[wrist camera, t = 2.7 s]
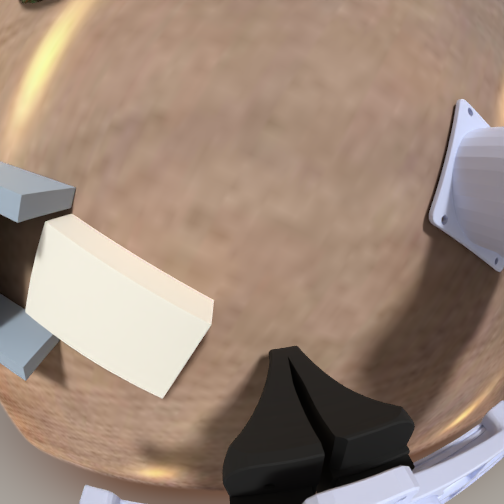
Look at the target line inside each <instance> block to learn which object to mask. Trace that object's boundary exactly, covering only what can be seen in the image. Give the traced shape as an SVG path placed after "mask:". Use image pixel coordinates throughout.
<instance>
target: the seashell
mask: <svg viewBox="0 0 504 504" xmlns="http://www.w3.org/2000/svg"><path fill="white" fill-rule="evenodd" d="M39 1H42V0H22V3H27V2H30V3H35V2H39Z"/></svg>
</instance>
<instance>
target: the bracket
mask: <svg viewBox="0 0 504 504" xmlns="http://www.w3.org/2000/svg"><path fill="white" fill-rule="evenodd" d="M75 188H76V187H73V186H70V185H67V184H64V183H61V182H58V181H55V180H52V179H50V178H47V177H44V176H41V175H38V174H35V173H32V172H29V171H26V170H23V169H20V168H17V167H14V166H12V165H9V164H6V163H3V162H0V214H1V215H3V216H5V217H7V218H9V219H11V220H13V221H15V222H17V223H19V222H22V221H25V220H29V219H32V218H35V217H39V216H43V215H46V214H50V213H54V212H58V211H61V210H65V209H69V208H71V206H72V201H73V197H74V193H75ZM58 342H59V338H57V337H56V336H55V335H53V334H52V333H51V332H49V331H48V330H47V329H45V328H44V327H43V326H42V325H40V324H39V323H38V322H36V321H35V320H34V319H33V318H32V317H30V316H29V315H28V314H27V313H26V312H25V309H24V308H22V307H21V306H19V305H17V304H16V303H14V302H13V301H11V300H10V299H8V298H7V297H5V296H4V295H2V294H1V293H0V363H1V364H2V365H4V366H5V367H6V368H8V369H9V370H11V371H12V372H13V373H15V374H16V375H18V376H19V377H21V378H22V379H24V380H25V381H26V380H27V379H28V378H29V376H30V375H31V374H32V373H33V371H34V370H35V369H36V368H37V367H38V365H39V364H40V363H41V362H42V361H43V359H44V358H45V357H46V356H47V355H48V353H49V352H50V351H51V350H52V349H53V348H54V346H55V345H56V344H57V343H58Z"/></svg>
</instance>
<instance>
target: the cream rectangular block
mask: <svg viewBox="0 0 504 504" xmlns="http://www.w3.org/2000/svg"><path fill="white" fill-rule="evenodd" d="M213 305H214V300H213V299H211V298H209V297H207V296H205V295H203V294H202V293H200V292H198V291H196V290H194V289H193V288H191V287H189V286H187V285H186V284H184V283H182V282H180V281H178V280H177V279H175V278H173V277H172V276H170V275H168V274H166V273H165V272H163V271H161V270H160V269H158V268H156V267H155V266H153V265H151V264H149V263H148V262H146V261H145V260H143V259H141V258H140V257H138V256H136V255H135V254H133V253H131V252H130V251H128V250H127V249H125V248H123V247H122V246H120V245H119V244H117V243H116V242H114V241H112V240H111V239H109V238H108V237H106V236H105V235H103V234H102V233H100V232H98V231H97V230H95V229H94V228H92V227H91V226H89V225H88V224H86V223H85V222H83V221H82V220H80V219H79V218H78V217H76V216H75V215H73V214H68V215H65V216H61V217H58V218H55V219H51V220H48V221H45V224H44V227H43V230H42V234H41V237H40V241H39V245H38V249H37V252H36V257H35V261H34V265H33V270H32V274H31V279H30V285H29V290H28V296H27V303H26V310H25V312H26V313H27V314H28V315H29V316H30V317H32V318H33V319H34V320H35V321H36V322H38V323H39V324H40V325H42V326H43V327H44V328H45V329H47V330H48V331H49V332H51V333H52V334H53V335H55V336H56V337H57V338H59V339H60V340H62V341H63V342H64V343H66V344H67V345H69V346H70V347H72V348H73V349H75V350H76V351H78V352H79V353H81V354H82V355H84V356H85V357H87V358H88V359H90V360H92V361H93V362H95V363H96V364H98V365H100V366H101V367H103V368H105V369H107V370H108V371H110V372H112V373H113V374H115V375H117V376H119V377H121V378H122V379H124V380H126V381H128V382H130V383H132V384H134V385H136V386H138V387H140V388H142V389H144V390H146V391H148V392H150V393H152V394H154V395H156V396H158V397H160V398H162V399H163V397H164V396H165V394H166V393H167V391H168V390H169V388H170V387H171V385H172V384H173V382H174V381H175V379H176V378H177V376H178V374H179V373H180V371H181V370H182V368H183V367H184V365H185V364H186V362H187V361H188V359H189V358H190V356H191V355H192V353H193V352H194V350H195V349H196V347H197V346H198V344H199V343H200V341H201V340H202V338H203V337H204V335H205V334H206V332H207V330H208V329H209V327H210V326H211V323H212V314H213Z"/></svg>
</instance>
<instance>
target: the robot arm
mask: <svg viewBox="0 0 504 504" xmlns="http://www.w3.org/2000/svg"><path fill="white" fill-rule="evenodd" d="M442 217H443V221H442V222H441V220H442ZM429 220H430V222H431V223H432V224H433V225H434V226H436V227H437V228H439V229H440V230H442V231H443V232H445V233H446V234H448V235H449V236H451V237H452V238H454V239H455V240H456V241H458V242H459V243H461V244H462V245H463V246H465V247H466V248H468V249H469V250H470V251H472V252H473V253H474V254H476V255H477V256H478V257H480V258H481V259H482V260H483V261H485V262H486V263H487V264H488V265H490V266H491V267H492V268H493V269H495V270H496V271H498V272H501V271H502V269H503V267H504V127H490V126H489V125H488V124H487V123H486V122H485V121H484V119H483V118H482V117H481V116H480V115H479V114H478V113H477V112H476V111H475V110H474V109H473V108H472V107H471V106H470V104H469V103H468V102H467V101H465V100H464V99H460V100H457V103H456V109H455V115H454V121H453V126H452V131H451V136H450V141H449V145H448V149H447V154H446V158H445V162H444V165H443V169H442V173H441V176H440V180H439V183H438V187H437V190H436V193H435V196H434V199H433V202H432V205H431V208H430V211H429ZM269 360H270V363H269V370H268V375H267V380H266V383H265V387H264V390H263V393H262V395H261V398H260V400H259V403H258V405H257V407H256V409H255V411H254V413H253V415H252V416H251V418H250V420H249V421H248V423H247V424H246V426H245V427H244V429H243V430H242V432H241V433H240V434H239V435H238V437H237V438H236V439H235V440H234V441H233V442H232V444H231V445H230V446H229V449H228V451H227V454H226V457H225V460H224V465H223V484H224V486H225V488H226V490H227V492H228V494H229V496H230V504H444V503H445V502H447V501H449V500H450V499H451V498H453V497H454V496H456V495H457V494H459V493H460V492H461V491H463V490H464V489H465V488H467V487H468V486H469V485H471V484H472V483H473V482H474V481H476V480H477V479H478V478H480V477H481V476H482V475H483V474H485V473H486V472H487V471H488V470H489V469H490V468H492V467H493V466H494V465H495V464H496V463H497V462H498V461H500V460H501V459H502V458H503V457H504V401H503V400H502V401H500V402H499V403H498V404H497V405H495V406H494V407H493V408H491V409H490V410H489V411H488V412H487V413H486V415H485V416H484V418H483V419H482V422H481V423H480V424H478V425H477V426H476V427H474V428H473V429H471V430H470V431H469V432H467V433H465V434H464V435H462V436H461V437H459V438H458V439H456V440H454V441H453V442H451V443H449V444H448V445H446V446H444V447H443V448H441V449H439V450H437V451H435V452H434V453H432V454H430V455H428V456H426V457H424V458H422V459H420V460H418V461H416V462H414V463H413V462H412V461H411V459H410V457H409V455H408V454H409V452H410V450H409V448H408V447H407V443H408V441H409V439H410V437H411V435H412V433H413V430H414V427H415V426H414V422H413V421H412V419H411V418H410V416H409V415H408V414H407V412H406V411H405V410H404V409H403V408H402V407H400V406H395V405H391V404H387V403H383V402H379V401H376V400H373V399H370V398H368V397H365V396H363V395H361V394H358V393H356V392H354V391H352V390H350V389H348V388H346V387H345V386H343V385H341V384H340V383H338V382H337V381H335V380H334V379H332V378H331V377H330V376H328V375H327V374H326V373H325V372H323V371H322V370H321V369H320V368H319V367H318V366H316V365H315V364H314V363H313V362H312V361H311V360H310V359H309V358H308V357H307V356H306V355H305V354H304V353H303V352H302V351H301V350H300V348H299V347H297V346H292V347H286V348H280V349H273V350H270V351H269ZM316 492H317V494H316ZM79 504H143V503H137V502H131V501H126V500H121V499H120V498H119V497H118V496H117V495H116V494H114V493H112V492H110V491H108V490H104V489H100V488H96V487H93V486H89V485H85V487H84V489H83V493H82V496H81V499H80V502H79Z"/></svg>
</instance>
